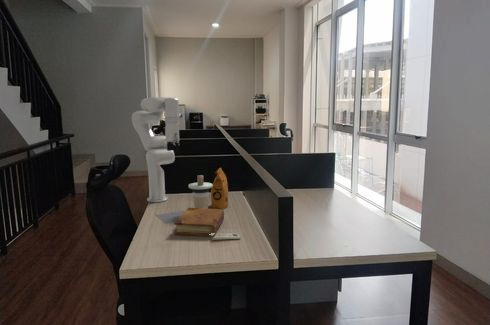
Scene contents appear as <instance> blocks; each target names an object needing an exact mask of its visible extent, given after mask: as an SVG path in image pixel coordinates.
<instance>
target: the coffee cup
mask: <svg viewBox="0 0 490 325" xmlns="http://www.w3.org/2000/svg"><path fill="white" fill-rule="evenodd" d="M209 189H210V188H209ZM209 189H200V190H197V189H192V191H191V192H192V200H193V208H206V209H209V197H210V196H209V195H210V194H209V192H210V190H209Z"/></svg>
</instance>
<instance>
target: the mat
mask: <svg viewBox="0 0 490 325" xmlns="http://www.w3.org/2000/svg"><path fill="white" fill-rule="evenodd" d="M185 211H186V210H179V211H173V212H166V213H159V214H155V216H156V217H157V218H159V220H161V221H162V222H163V223H165V224H169V223H175V222H176V221H177V220H178V219H179V217H180V216H181V215H182V214H183V213H184V212H185Z"/></svg>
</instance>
